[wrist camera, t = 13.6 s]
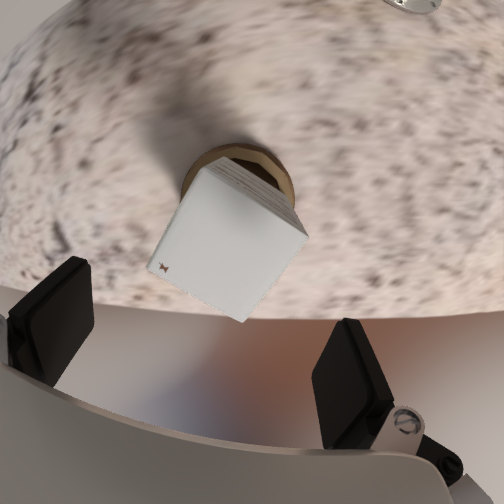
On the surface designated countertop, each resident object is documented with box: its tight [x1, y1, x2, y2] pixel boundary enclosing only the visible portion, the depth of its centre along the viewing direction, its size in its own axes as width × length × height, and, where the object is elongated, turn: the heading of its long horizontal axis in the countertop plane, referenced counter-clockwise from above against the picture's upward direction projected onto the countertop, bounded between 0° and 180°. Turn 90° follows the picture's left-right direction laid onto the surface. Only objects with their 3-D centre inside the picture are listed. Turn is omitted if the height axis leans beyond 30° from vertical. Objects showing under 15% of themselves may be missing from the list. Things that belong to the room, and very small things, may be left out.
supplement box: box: [146, 156, 309, 322], centre depth 22 cm, size 7×7×13 cm
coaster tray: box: [180, 143, 295, 209], centre depth 30 cm, size 12×12×4 cm
